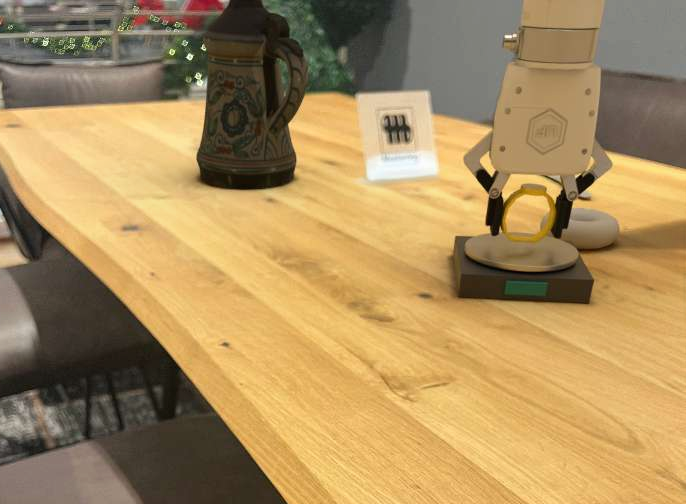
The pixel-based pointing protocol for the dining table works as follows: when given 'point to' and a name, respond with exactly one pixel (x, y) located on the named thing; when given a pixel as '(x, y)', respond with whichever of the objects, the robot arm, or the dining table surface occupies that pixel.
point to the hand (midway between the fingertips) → (524, 232)
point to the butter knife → (583, 194)
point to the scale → (520, 280)
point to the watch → (534, 191)
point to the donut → (588, 228)
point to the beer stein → (250, 99)
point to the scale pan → (521, 252)
